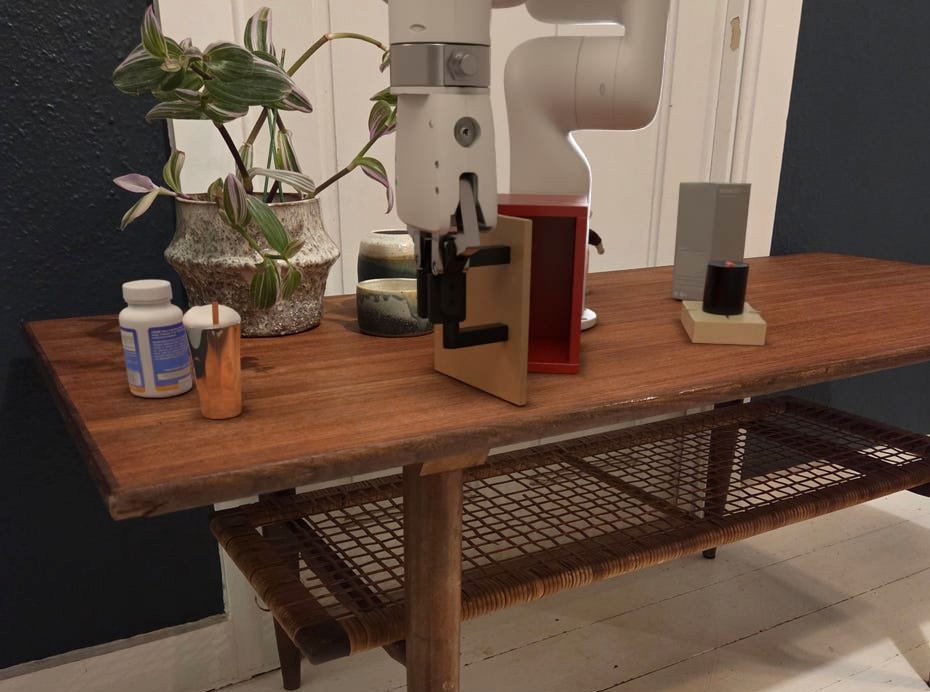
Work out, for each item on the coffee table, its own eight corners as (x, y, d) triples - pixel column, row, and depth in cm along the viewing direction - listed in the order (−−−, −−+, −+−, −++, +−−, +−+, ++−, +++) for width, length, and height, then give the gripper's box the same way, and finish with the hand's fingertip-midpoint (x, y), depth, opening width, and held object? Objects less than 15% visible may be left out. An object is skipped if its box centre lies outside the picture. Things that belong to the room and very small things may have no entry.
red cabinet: (578, 374, 87) (588, 206, 81) (438, 368, 89) (437, 202, 82) (577, 345, 98) (586, 195, 92) (453, 340, 100) (453, 192, 93)
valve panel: (676, 320, 111) (678, 299, 110) (748, 322, 110) (751, 301, 109) (687, 342, 100) (690, 319, 99) (768, 345, 99) (771, 322, 98)
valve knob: (699, 306, 107) (704, 257, 104) (739, 307, 106) (745, 258, 104) (704, 314, 102) (710, 263, 100) (746, 315, 102) (753, 264, 100)
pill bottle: (199, 382, 83) (187, 278, 79) (183, 399, 78) (169, 289, 74) (140, 382, 83) (126, 277, 79) (121, 399, 78) (104, 288, 74)
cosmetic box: (707, 306, 119) (721, 183, 113) (665, 298, 124) (676, 180, 118) (742, 299, 125) (757, 181, 119) (700, 291, 130) (713, 178, 123)
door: (460, 418, 74) (461, 224, 68) (379, 378, 84) (373, 208, 78) (526, 404, 78) (532, 219, 72) (440, 368, 88) (440, 204, 82)
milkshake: (198, 427, 71) (184, 304, 67) (190, 408, 76) (176, 291, 72) (255, 421, 73) (244, 300, 69) (244, 403, 77) (233, 288, 74)
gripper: (536, 73, 61) (527, 336, 68) (443, 78, 74) (444, 299, 81) (436, 69, 58) (438, 345, 65) (357, 76, 71) (366, 305, 78)
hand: (441, 318), depth 73 cm, fingers closed
